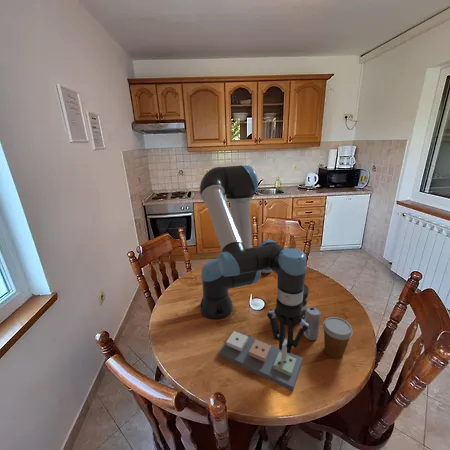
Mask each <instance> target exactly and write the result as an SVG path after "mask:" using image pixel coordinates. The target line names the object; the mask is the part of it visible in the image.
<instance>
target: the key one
mask: <svg viewBox="0 0 450 450" xmlns="http://www.w3.org/2000/svg"><path fill="white" fill-rule="evenodd" d="M236 331H237V330H235V331H234V330H233V332H232V333H231V334H232V335H231V334H230V335H229V337H228V339H227V340H226V341H225V343H226V345H227V346H230V347H232V348H234V349H236V350H239V351H242V349H243V348H244V346H245V344H246V343H247V341H248V336H249V335H247V336H245V335H246V334H245V335H243V334H244V333H242V332H240V333H238V332H239V331H237V332H236ZM241 333H242V334H241Z"/></svg>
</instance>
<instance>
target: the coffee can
mask: <svg viewBox="0 0 450 450" xmlns="http://www.w3.org/2000/svg"><path fill="white" fill-rule="evenodd" d="M309 292H310V289H309V286H308V285H307V284H305V283H304V291H303V300H302V310H301V315H302V317H303V318H302V319H303V320H304V321H305V315H306V309H307V308H308V299H309Z"/></svg>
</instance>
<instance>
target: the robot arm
mask: <svg viewBox="0 0 450 450" xmlns="http://www.w3.org/2000/svg"><path fill="white" fill-rule="evenodd" d="M258 186H259V180H258V176H257V173H256V171H255V170H254V168H253V167H252V166H250V165H229V166H217V167H216V166H215V167H213V168H211V169H210V170H208V171H207V172H206V173H205V174H204V175H203V177H202V179H201V180H200V184H199V194H200V198H201V200H202V201H203V203H205V205H206V208H207V211H208V213H209V217H210V220H211V223H212V226H213V228H214V232H215V235H216V237H217V240H218V244H219V247H220V249H221V252H220V253H219V254H218V257H217V259H212V260H209V261H207V262H206V263H205V264H204V265H203V266H202V268H201V276H200V277H201V283H202V297H201V301H200V304H199V305H200V306H199V308H200V313H201V315H202V316H203V317H205V318H207V319H210V320H221V319H224V318H226V317H228V316H229V315H230V314H231V313H232V312H233V301H232V299H231V297H230V294H229V290H230V289H235V288H241V287H244V286H251V285H253V284H256V283H258V282H259V280H260V278H261V276H262V275H261V274H262V272H261V270H266V269H272V272H273V273H275V274H276V275H277V284H276V285H277V287H276V301H275V302H276V304H275V309H269V311H268V312H267V318H268V319H269V321H270V322H269V323H270V326H271V331H272V335H273V339H274V340H275V341H278V342H279V343H278V345H279V346H278V348H279V349H280V350H282V356H281V360H283V361H285V362H286V359H287V357H288V353H291V352H292V351H293V350H292V349H293V348H295V349H296V348H297V347H298V345H299V343H300V340H301V339H302V337H303V336H304V332H305V331H306V330H307V329H308V327H309V324H310V323H309V322H308V321H306V322H305V320H303V319H302V318H303V317H302V315H301V310H302V300H303V291H304V284H305V280H306V279H305V278H306V273H307V272H306V271H307V267H308V266H307V255H306V253H304V251H302V250H300V249H299V250H298V249H297V248H284V247H283V246H282V245H281V244H280V243H278V242H276V241H274V240H271V239H266V240H265V239H264V241H262V242H260V243H259V245H258V246H255V247H254V246H252V245H253V244H252V228H251V227H252V226H251V225H252V222H251V221H252V220H251V200H252V199H253V198H254V193H256V192H257V190H258ZM227 201H228V202H229V204H228V202H227ZM278 321H279V324H278ZM297 325H299V326H300V328H299V330H298V332H297V334H296V336H295V338H294V333H295V332H294V331H295V326H297ZM286 329H287V330H286ZM286 331H287V339H286Z"/></svg>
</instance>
